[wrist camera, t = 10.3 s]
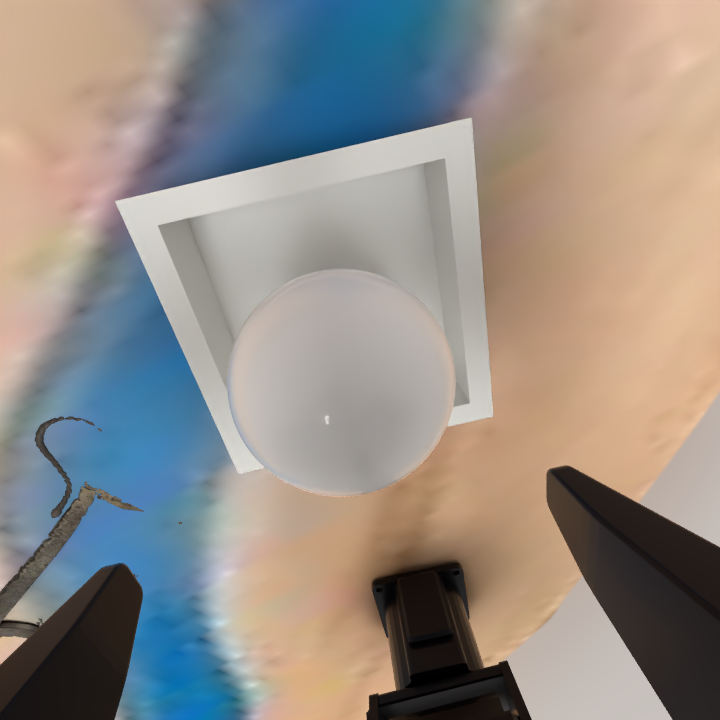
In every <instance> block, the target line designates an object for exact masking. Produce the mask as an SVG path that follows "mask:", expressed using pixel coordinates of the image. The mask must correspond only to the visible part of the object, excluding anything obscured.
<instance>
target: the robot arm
mask: <svg viewBox="0 0 720 720" xmlns="http://www.w3.org/2000/svg"><path fill="white" fill-rule="evenodd" d="M547 503H548V506H549V509H550V511H551V513H552V515H553V517H554V519H555V521H556V523H557V525H558V527H559V529H560V531H561V533H562V535H563V537H564V539H565V541H566V543H567V545H568V547H569V549H570V551H571V553H572V555H573V557H574V559H575V561H576V563H577V565H578V567H579V569H580V571H581V573H582V575H583V577H584V578H585V580H586V582H587V584H588V585H589V587H590V589H591V590H592V592H593V594H594V595H595V597H596V599H597V600H598V602H599V603H600V605H601V606H602V608H603V610H604V611H605V613H606V614H607V616H608V618H609V619H610V621H611V622H612V624H613V625H614V627H615V629H616V630H617V632H618V633H619V635H620V637H621V638H622V640H623V641H624V643H625V645H626V646H627V648H628V649H629V651H630V652H631V654H632V656H633V657H634V659H635V660H636V662H637V664H638V665H639V667H640V668H641V670H642V671H643V673H644V675H645V676H646V678H647V679H648V681H649V683H650V684H651V686H652V687H653V689H654V691H655V692H656V694H657V695H658V697H659V699H660V700H661V702H662V703H663V705H664V707H665V708H666V710H667V711H668V713H669V714H670V716H671V718H672V719H673V720H720V547H718V546H716V545H715V544H713V543H711V542H709V541H707V540H705V539H704V538H702V537H700V536H698V535H696V534H694V533H693V532H691V531H688V530H687V529H685V528H683V527H681V526H680V525H677V524H676V523H674V522H672V521H670V520H669V519H667V518H665V517H663V516H661V515H659V514H657V513H655V512H654V511H652V510H650V509H648V508H646V507H644V506H643V505H641V504H639V503H637V502H635V501H633V500H632V499H630V498H628V497H626V496H624V495H622V494H621V493H619V492H617V491H615V490H613V489H611V488H609V487H608V486H606V485H604V484H602V483H600V482H598V481H596V480H595V479H593V478H591V477H589V476H587V475H585V474H584V473H582V472H580V471H578V470H576V469H574V468H572V467H570V466H560V467H556V468H551V469H549V470H548V471H547ZM372 591H373V595H374V598H375V601H376V604H377V608H378V611H379V614H380V617H381V621H382V624H383V627H384V630H385V634H386V636H387V638H389V645H390V652H391V659H392V666H393V673H394V680H395V687H396V691H392V692H388V693H384V694H380V695H379V694H378V693H377V694H373V695H369V711H368V712H367V713H366V715H367V720H532V719H531V717H530V715H529V712H528V710H527V707H526V705H525V703H524V700H523V698H522V695H521V693H520V690H519V688H518V686H517V683H516V681H515V679H514V676H513V674H512V672H511V669H510V666H509V664H508V662H507V660H506V661H502V662H499V664H498V665H494V666H490V667H487V668H484V665H483V662H482V659H481V656H480V653H479V650H478V647H477V644H476V641H475V638H474V635H473V632H472V629H471V625H470V622H469V618H470V617H469V610H468V603H467V596H466V589H465V582H464V575H463V570H462V567H461V565H460V564H458V563H453V564H448V565H444V566H439V567H434V568H430V569H425V570H421V571H416V572H412V573H407V574H403V575H398V576H394V577H389V578H385V579H380V580H376V581H374V582H373V583H372ZM142 599H143V592H142V587H141V585H140V584H139V582H138V581H137V579H136V578H135V576H134V575H133V574H132V572H131V571H130V569H129V568H128V566H127V565H125V564H123V563H118V564H114V565H109V566H105V567H103V568H101V569H100V570H99V571H98V572H96V573H95V574H94V575H93V576H92V577H91V578H90V579H89V580H88V581H87V582H86V583H85V584H84V585H83V586H82V587H81V588H80V589H79V590H78V591H77V592H76V593H75V594H74V595H73V596H72V597H70V598H69V599H68V600H67V601H66V602H65V603H64V604H63V605H62V606H61V607H60V608H59V609H58V610H57V611H56V612H55V613H54V614H53V615H52V616H51V617H50V618H49V619H48V620H47V621H46V622H44V623H43V624H42V625H41V626H40V627H39V628H38V629H37V630H36V631H35V632H34V633H33V634H32V635H31V636H30V637H29V638H28V639H27V640H26V641H25V642H24V643H23V644H22V645H21V646H19V647H18V648H17V649H16V650H15V651H14V652H13V653H12V654H11V655H10V656H9V657H8V658H7V659H6V660H5V661H4V662H3V663H2V664H1V665H0V720H114V719H115V716H116V712H117V709H118V706H119V702H120V699H121V695H122V692H123V688H124V684H125V681H126V676H127V672H128V668H129V663H130V658H131V653H132V648H133V644H134V639H135V634H136V629H137V624H138V619H139V614H140V609H141V604H142Z"/></svg>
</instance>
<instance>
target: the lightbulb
mask: <svg viewBox="0 0 720 720" xmlns="http://www.w3.org/2000/svg"><path fill="white" fill-rule="evenodd" d="M455 388H456V377H455V366H454V360H453V356H452V352H451V349H450V346H449V343H448V340H447V338H446V335H445V333H444V331H443V329H442V328H441V326H440V324H439V322H438V321H437V319H436V318H435V316H434V315H433V314H432V312H431V311H430V310H429V309H428V308H427V306H426V305H425V304H424V303H423V302H422V301H421V300H420V299H419V298H418V297H416V296H415V295H414V294H413V293H412V292H410V291H409V290H408V289H406V288H405V287H403V286H402V285H400V284H398V283H397V282H395V281H393V280H391V279H388V278H386V277H384V276H381V275H378V274H375V273H372V272H368V271H363V270H357V269H346V268H337V269H326V270H320V271H315V272H311V273H308V274H305V275H302V276H299V277H297V278H295V279H292V280H290V281H288V282H287V283H285V284H283V285H282V286H280V287H278V288H277V289H275V290H274V291H273V292H271V293H270V294H269V295H268V296H267V297H265V298H264V299H263V300H262V301H261V302H260V303H259V304H258V305H257V306H256V307H255V309H254V310H253V311H252V312H251V314H250V315H249V316H248V318H247V319H246V321H245V322H244V324H243V326H242V327H241V329H240V331H239V333H238V335H237V338H236V340H235V343H234V345H233V349H232V352H231V356H230V360H229V366H228V375H227V392H228V401H229V407H230V411H231V415H232V418H233V421H234V424H235V426H236V429H237V431H238V433H239V435H240V437H241V439H242V440H243V442H244V444H245V445H246V447H247V448H248V450H249V451H250V452H251V454H252V455H253V456H254V457H255V459H256V460H257V461H258V462H259V463H260V464H261V465H262V466H263V467H264V468H266V469H267V470H268V471H269V472H270V473H272V474H273V475H274V476H276V477H277V478H279V479H280V480H282V481H283V482H285V483H287V484H289V485H291V486H293V487H295V488H298V489H300V490H303V491H306V492H309V493H313V494H317V495H322V496H329V497H352V496H360V495H365V494H369V493H373V492H376V491H379V490H382V489H385V488H387V487H389V486H391V485H393V484H395V483H397V482H399V481H400V480H402V479H404V478H405V477H407V476H408V475H409V474H411V473H412V472H413V471H414V470H416V469H417V468H418V467H419V466H420V465H421V464H422V463H423V462H424V461H425V460H426V459H427V458H428V456H429V455H430V454H431V453H432V451H433V450H434V449H435V447H436V446H437V444H438V443H439V441H440V439H441V438H442V436H443V434H444V432H445V429H446V427H447V425H448V422H449V419H450V416H451V413H452V409H453V404H454V399H455Z"/></svg>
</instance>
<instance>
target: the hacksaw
mask: <svg viewBox="0 0 720 720" xmlns="http://www.w3.org/2000/svg"><path fill="white" fill-rule="evenodd" d="M63 419H64V417H59V418H58V419H57V418H53V419H51V420H49V421H47V422H45V423H43V424H41V425H40V427H39V429H38V431H37V432H36V437H35V441H36V446H37V447H38V448H39V449H40V451H41V452H42V453H43V454H44V456H45V457H46V458H47V459H48V460H49V461H50V462H52V464H53V466H54V467H56V468H57V470H58V472H59V473H60V474H61V475H62V477H63V478H64V479H66V480H64V481H65V482H66V484H67V486H66V488H67V490H66V491H65V496H63V499H62V500H61V502H60V503H59V504H58V505H57V507H56V508H54V509H53V510H52V512H51V517H52V518H56V517H58V516H59V515H60V514H61V513H62V509H63V508H64V506H65V504H66V503H67V500H68V498H70V493H71V492H72V490H71V486H72V485H71V482H70V479H69V478H68V477H67V476H66V475H67V474H66V472H64V471H63V469H62V467H61V466H60V465H59V463H58V462H57V461H56V460H55V458H54V457H53V456H52V455H51V453H50V452H49V451H48V449H47V448H46V446H45V445H44V442H43V435H44V433H45V430H46V428H48V427H49V426H50V425H51V424H53V423H55V422H57V421H61V420H63ZM65 419H68V420H71V419H74V420H75V421H79V420H84V419H81V418H74V417H67V418H65ZM84 421H86V423H88V424H91V425H93V426H95V425H94V424H93V423H92V422H89V421H87V420H84ZM98 430H100V431H102V430H101V429H99V428H98ZM84 483H85V484H84V485H85V486H86V487H81V488H82V489H80V493H79V498H78V499H75V500H74V501H73V502H72V504H71V506H70V507H69V508H68V509H67V511H66V512H65V513H64V514H63V516H62V517H61V518H60V520H59V521H58V522H57V524H56V525H55V527H54V528H53V529H52V531H51V532H50V533H49V534H48V535H49V539H46V540H44V541H43V544H42V545H41V546H40V547H39V548H38V549H37V550H36V551H35V553H34V556H33V557H30V558H29V559H28V561H27V562H26V564H25V565H24V566H23V567H22V566H21V568H20V569H19V570H18V572H19V573H18V574H17V575H16V576H14V577H13V579H12V580H11V581H10V582H8V584H7V585H6V586H5V588H4V589H3V590H2V591H1V592H0V637H2V636H5V637H12V636H17V637H23V638H29V637H30V636H31V635H32V634H33V633H34V632H35V631H36V630H37V629H38V628H39V627H40V622H36V623H37V624H38V626H39V627H38V626H34V625H30V624H22V623H1V621H2V620H3V619H4V617H5V616H6V615H7V614H8V613H9V612H10V611H11V609H12V608H13V607H14V606H15V604H16V603H17V602H18V601H19V600H20V599H21V597H22V596H23V595H24V593H25V592H26V591H27V590H28V589H29V587H30V586H31V585H32V584H33V583H34V581H35V580H36V579H37V578H38V577H39V575H40V574H41V573H42V572H43V570H44V569H45V568H46V567H47V566H48V564H49V563H50V562H51V561H52V560H53V558H54V557H55V556H56V555H57V554H58V552H59V551H60V550H61V548H62V547H63V546H64V544H65V543H66V542H67V540H68V539H69V538H70V537H71V535H72V534H73V532H74V531H75V529H76V528H77V526H78V525H79V523H80V521H81V517H82V516H84V515H85V514H86V512H87V510H88V507H89V506H90V505H91V504H92V502H93V500H94V496H95V494H96V495H98V497H97V498H98V499H102V498H103V500H107V502H108V503H111V504H113V505H115V506H117V507H120V508H122V509H127V510H135V511H142V510H140V509H138V508H136V507H134V506H132V505H131V504H128V503H122V502H121V499H119V498H117V497H115V496H114V497H112V496H111V495H110V494H109V493H107V492H105V491H103V490H101V489H99V490H95V489H97V488H92V487H91V486H90V485H88V484H87V482H84ZM91 489H93V490H91ZM95 491H96V492H98V493H100V495H102V496H100V495H99V494H97V493H96V492H95ZM99 496H100V497H99ZM143 512H144V511H143ZM179 524H182V522H179ZM134 576H135V574H134ZM137 576H138V575H137ZM135 578H136V577H135Z"/></svg>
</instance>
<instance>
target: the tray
mask: <svg viewBox="0 0 720 720" xmlns="http://www.w3.org/2000/svg"><path fill="white" fill-rule="evenodd" d="M115 202H116V204H117V207H118V209H119V211H120V213H121V215H122V218H123V220H124V222H125V224H126V227H127V229H128V231H129V233H130V235H131V238H132V240H133V242H134V244H135V246H136V249H137V251H138V253H139V255H140V258H141V260H142V262H143V264H144V266H145V269H146V271H147V273H148V275H149V277H150V280H151V282H152V284H153V286H154V288H155V291H156V293H157V295H158V297H159V300H160V302H161V304H162V306H163V308H164V311H165V313H166V315H167V317H168V319H169V322H170V324H171V326H172V328H173V330H174V333H175V335H176V337H177V339H178V342H179V344H180V346H181V348H182V350H183V353H184V355H185V357H186V359H187V361H188V364H189V366H190V368H191V370H192V373H193V375H194V377H195V379H196V381H197V384H198V386H199V388H200V390H201V392H202V395H203V397H204V399H205V401H206V403H207V406H208V408H209V410H210V412H211V415H212V417H213V419H214V421H215V423H216V426H217V428H218V430H219V432H220V434H221V437H222V439H223V441H224V443H225V445H226V448H227V450H228V452H229V454H230V457H231V459H232V461H233V463H234V465H235V468H236V470H237V472H238V474H241V473H245V472H250V471H254V470H259V469H263V468H264V467H263V466H262V465H261V464H260V463H259V462H258V461H257V460H256V459H255V457H254V456H253V455H252V454H251V452H250V451H249V450H248V448H247V447H246V445H245V444H244V442H243V440H242V439H241V437H240V435H239V433H238V431H237V429H236V426H235V424H234V421H233V418H232V415H231V411H230V407H229V401H228V392H227V375H228V366H229V360H230V356H231V352H232V349H233V345H234V343H235V340H236V338H237V335H238V333H239V331H240V329H241V327H242V326H243V324H244V322H245V321H246V319H247V318H248V316H249V315H250V314H251V312H252V311H253V310H254V309H255V307H256V306H257V305H258V304H259V303H260V302H261V301H262V300H263V299H264V298H265V297H267V296H268V295H269V294H270V293H271V292H273V291H274V290H275V289H277V288H278V287H280V286H282V285H283V284H285V283H287V282H288V281H290V280H292V279H295V278H297V277H299V276H302V275H305V274H308V273H311V272H315V271H320V270H326V269H337V268H346V269H357V270H363V271H368V272H372V273H375V274H378V275H381V276H384V277H386V278H388V279H391V280H393V281H395V282H397V283H398V284H400V285H402V286H403V287H405V288H406V289H408V290H409V291H410V292H412V293H413V294H414V295H415V296H416V297H418V298H419V299H420V300H421V301H422V302H423V303H424V304H425V305H426V306H427V308H428V309H429V310H430V311H431V312H432V314H433V315H434V316H435V318H436V319H437V321H438V322H439V324H440V326H441V328H442V329H443V331H444V333H445V335H446V338H447V340H448V343H449V346H450V349H451V352H452V356H453V360H454V366H455V377H456V388H455V399H454V404H453V409H452V413H451V416H450V419H449V422H448V425H447V427H449V426H454V425H458V424H462V423H467V422H471V421H476V420H480V419H485V418H489V417H493V405H492V391H491V377H490V363H489V349H488V335H487V321H486V308H485V294H484V280H483V266H482V252H481V238H480V224H479V210H478V197H477V183H476V169H475V155H474V141H473V127H472V118H467V119H463V120H459V121H455V122H450V123H446V124H442V125H438V126H433V127H429V128H425V129H420V130H416V131H412V132H408V133H403V134H399V135H395V136H391V137H386V138H382V139H378V140H374V141H369V142H365V143H361V144H357V145H352V146H348V147H344V148H340V149H335V150H331V151H327V152H323V153H318V154H314V155H310V156H306V157H301V158H297V159H293V160H289V161H284V162H280V163H276V164H271V165H267V166H263V167H259V168H254V169H250V170H246V171H242V172H237V173H233V174H229V175H225V176H220V177H216V178H212V179H208V180H203V181H199V182H195V183H191V184H186V185H182V186H178V187H174V188H169V189H165V190H161V191H157V192H152V193H148V194H144V195H140V196H135V197H131V198H127V199H122V200H118V201H115Z"/></svg>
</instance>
